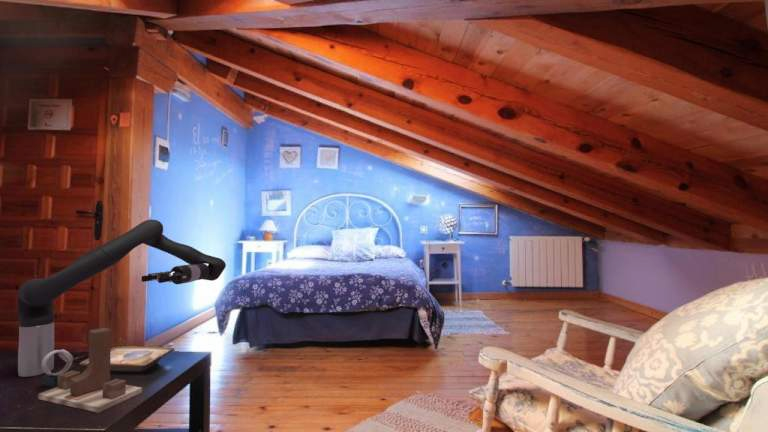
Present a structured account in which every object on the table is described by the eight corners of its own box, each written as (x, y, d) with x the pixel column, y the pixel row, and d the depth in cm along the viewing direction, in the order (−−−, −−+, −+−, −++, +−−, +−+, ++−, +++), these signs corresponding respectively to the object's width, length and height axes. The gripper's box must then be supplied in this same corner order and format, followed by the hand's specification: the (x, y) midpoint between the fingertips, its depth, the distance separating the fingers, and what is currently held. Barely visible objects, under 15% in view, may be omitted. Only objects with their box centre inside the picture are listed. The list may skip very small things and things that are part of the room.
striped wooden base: (38, 399, 111) (38, 380, 111) (84, 381, 124) (84, 364, 124) (98, 412, 103) (98, 393, 103) (141, 392, 115) (141, 374, 116)
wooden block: (74, 397, 109) (75, 336, 109) (69, 393, 111) (70, 334, 111) (110, 386, 116) (111, 329, 116) (104, 382, 119) (105, 327, 119)
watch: (76, 380, 125) (76, 347, 125) (47, 390, 117) (47, 355, 117) (66, 377, 127) (66, 345, 127) (37, 387, 119) (37, 353, 119)
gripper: (172, 264, 157) (136, 269, 141) (199, 265, 152) (164, 270, 137) (172, 281, 157) (136, 288, 141) (198, 283, 152) (164, 290, 137)
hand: (150, 279), depth 139 cm, fingers open, 8 cm apart
